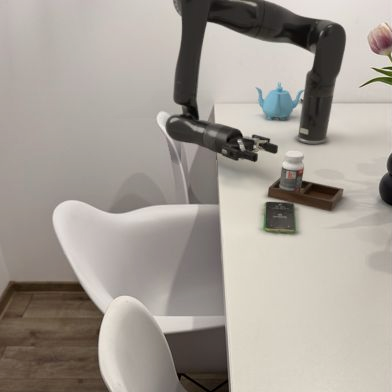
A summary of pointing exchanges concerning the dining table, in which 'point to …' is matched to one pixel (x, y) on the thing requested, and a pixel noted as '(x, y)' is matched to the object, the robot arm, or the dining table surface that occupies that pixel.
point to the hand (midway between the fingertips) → (267, 153)
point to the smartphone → (279, 217)
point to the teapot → (278, 103)
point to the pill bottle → (292, 171)
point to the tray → (309, 195)
